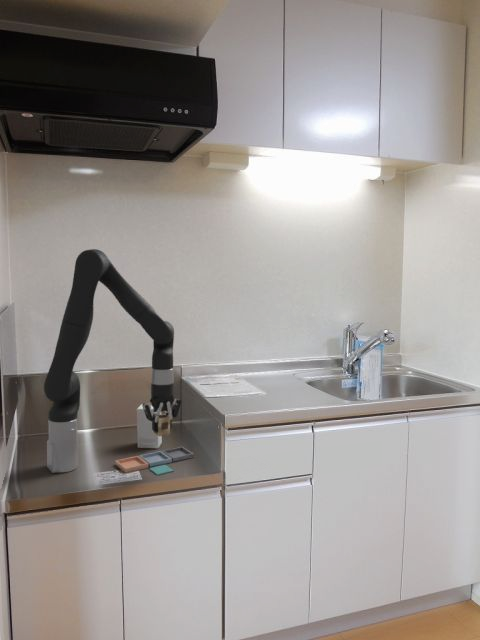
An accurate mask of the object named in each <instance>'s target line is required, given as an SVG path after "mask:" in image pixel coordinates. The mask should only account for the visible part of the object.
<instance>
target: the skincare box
mask: <svg viewBox="0 0 480 640" xmlns="http://www.w3.org/2000/svg"><path fill="white" fill-rule="evenodd" d="M143 404H144V403H141V404H139V406H138V407H137V408H136V423H137V424H136V425H137V428H136V429H137V432H136V434H137V435H136V438H137V448H139V449H159V448H160V446H161V445H162V443H163V438H162V437H163V436H158V435H156V434H155V433H154V431H153V430H152V421H149V420H148V419H147V418H146V415H145V412H144V409H143V406H142V405H143ZM150 411H151V414H153V413H152V411H153V406H152V405H151V409H150ZM161 414H162V412H161V413H160V415H161Z"/></svg>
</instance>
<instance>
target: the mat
mask: <svg viewBox="0 0 480 640" xmlns="http://www.w3.org/2000/svg"><path fill="white" fill-rule="evenodd" d="M148 469H149V471H151V472H152V473H153V474H155V475H156V476H160V475H164V474H165V473H166V474H170V473H173V472H174V470H173V469H172V468H170V467H169V466H168V465H167V464H163V465H159V466H155V467H148Z"/></svg>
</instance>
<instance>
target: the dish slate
mask: <svg viewBox="0 0 480 640" xmlns="http://www.w3.org/2000/svg"><path fill="white" fill-rule="evenodd" d="M138 456H139V457H140V458H142V459H143V460H144V461H146V462H147V463H148V464H149V466H148V468H152V467H157V466H161V465H167V464H172V463H173V462H172V458H170V457H169V456H167V455H166V454H164V453H163V452H162V450H159V451H154V452H151V453H149V452H148V453H145V454H140V455H138Z"/></svg>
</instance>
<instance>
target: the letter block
mask: <svg viewBox="0 0 480 640" xmlns="http://www.w3.org/2000/svg"><path fill="white" fill-rule="evenodd" d="M154 433H155V432H154ZM155 434H156V435H158V436H162V437H163V436H168V435H171V429H170V417H169V416H168V415H166V414H165V413H163V414H162V413H161V415H160V416H159V418H158V433H155Z"/></svg>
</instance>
